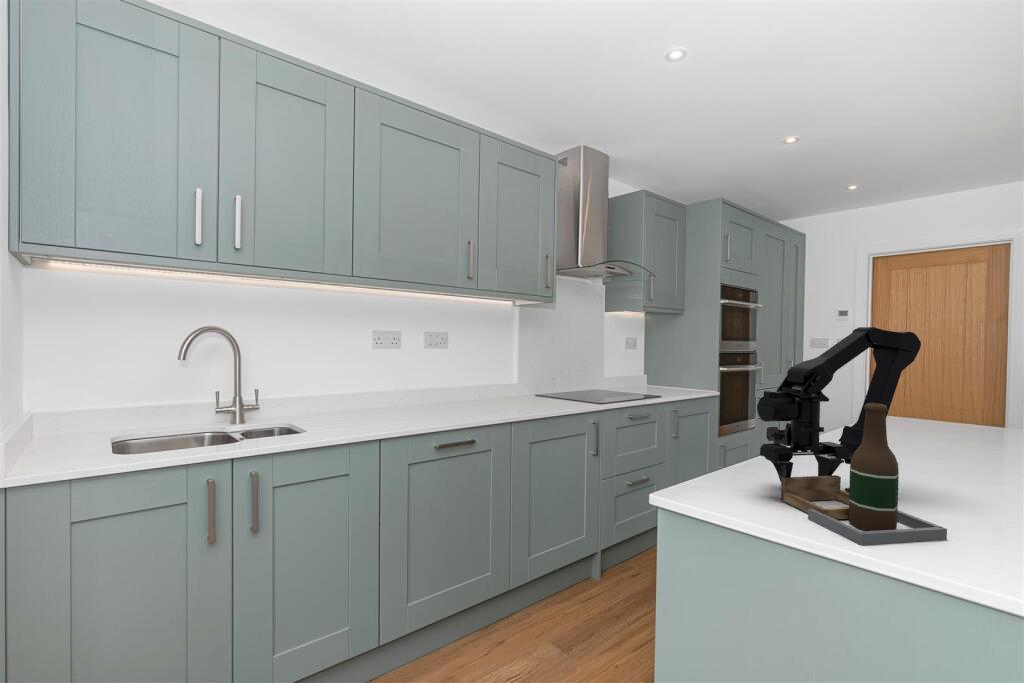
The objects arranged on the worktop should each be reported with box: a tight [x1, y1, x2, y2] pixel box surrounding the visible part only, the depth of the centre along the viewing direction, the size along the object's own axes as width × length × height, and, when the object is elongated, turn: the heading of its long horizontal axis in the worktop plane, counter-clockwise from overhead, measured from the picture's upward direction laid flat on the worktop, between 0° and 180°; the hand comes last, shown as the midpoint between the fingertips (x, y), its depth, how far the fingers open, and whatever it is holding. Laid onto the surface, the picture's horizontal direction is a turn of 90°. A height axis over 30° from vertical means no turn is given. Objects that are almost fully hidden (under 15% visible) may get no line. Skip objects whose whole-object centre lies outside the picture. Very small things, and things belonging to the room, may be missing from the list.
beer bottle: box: [848, 403, 900, 532], centre depth 96 cm, size 8×8×24 cm
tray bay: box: [807, 509, 948, 546], centre depth 95 cm, size 18×12×2 cm
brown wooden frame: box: [780, 474, 849, 520], centre depth 106 cm, size 14×12×5 cm
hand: (803, 488), depth 113 cm, fingers open, 9 cm apart
